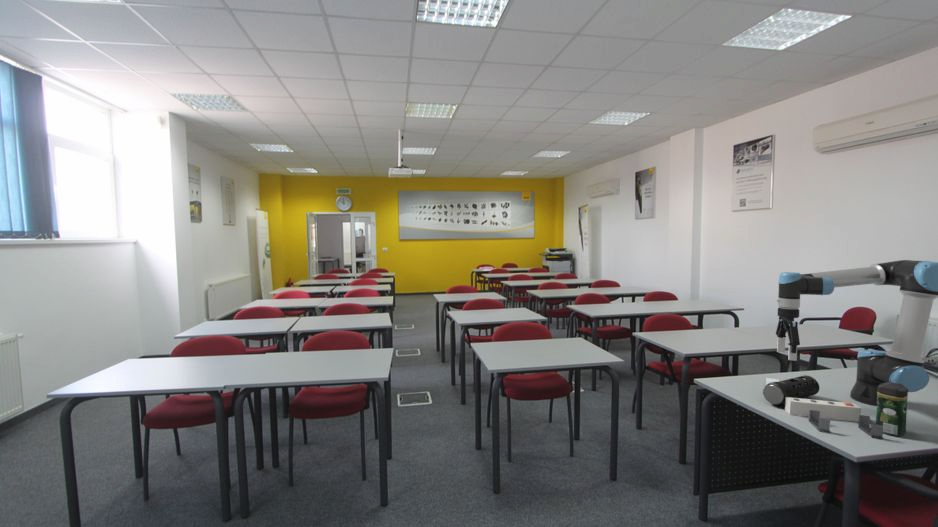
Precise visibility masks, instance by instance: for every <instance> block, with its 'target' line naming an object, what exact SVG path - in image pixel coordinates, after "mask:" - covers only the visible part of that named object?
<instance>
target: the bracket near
mask: <svg viewBox="0 0 938 527" xmlns="http://www.w3.org/2000/svg"><path fill="white" fill-rule="evenodd" d="M857 427H858V428H859V429H860V430H861V431H862V432H864V433H865V434H867V435H868V437H870V436H871V438H872V439H879V440H883V435H884V433H883V425H880V424H876V423H871V416H869V415H862V414H861V415H859V422H858V426H857Z"/></svg>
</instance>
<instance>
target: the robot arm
mask: <svg viewBox="0 0 938 527" xmlns="http://www.w3.org/2000/svg"><path fill="white" fill-rule="evenodd" d="M863 285H875V286H897V287H899V290H898V291H899V292H900V293H901V294H902V300H901V301H902V302H901V305H900V309H899V315H898V319H897V324H896V326H895V327H896V328H895V331H894V335H893V340H892V345H891V349H890V351H884V350H876V349H860V350H859V351H858V352H857V357H856V359H857V363H856V378H855V383H854V385H853V386H852V388H851V390H850V394H849V395H850V398H851V399H853V400H854V401H857V402H860V403H863V404H865V405H871V406H876V407H877V390H878V385H880V384H882V383H887V382H893V383H898V384H902V385H903V386H905V387H906V388H907V389H908V393H914V392H918V391H921V390H923V389H925V388H926V387H927V385H928V384H929V382H930V374H929V372H928V370H926V369H925V368H924V366H925V362H926V361H925V360H924V359H923V358H922V357H921V356H922V351H923V346H924V342H925V337H926V333H927V329H928V325H929V320H930V316H931V312H932V309H933V303H934V300H936V299H938V261H937V262H936V261H930V260H911V259H900V260H894V261H886V262H880V263H874V264H871V265H870V266H866V267H857V268H847V269H838V270H830V271H829V270H828V271H819V272H811V273H800V272H795V271H794V272H792V271H791V272H790V271H784V272H783V271H782V272H780V274H779V276H778V299H777V300H776V302H777V307H778V308H777V316H778V323H777V326H776V331H775V335H776V336H777V339H776V340H777V345H776V346H777V348H776V352H777V353H786V338H788V340H789V341H788V342H789V343H787V345H788V354H787V355H788V361H797V358H798V346H800V345H801V343H800V342H801V341H800V335H799V328H798V327H799V326H798V324H799V323H798V321H795V319H798V318H799V317H800V307H801V295H806V296H807V295H813V296H827V295H828V296H829V295H831V294H833V292H834V291H835V288H842V287H851V286H852V287H853V286H863ZM786 334H787V336H786Z"/></svg>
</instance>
